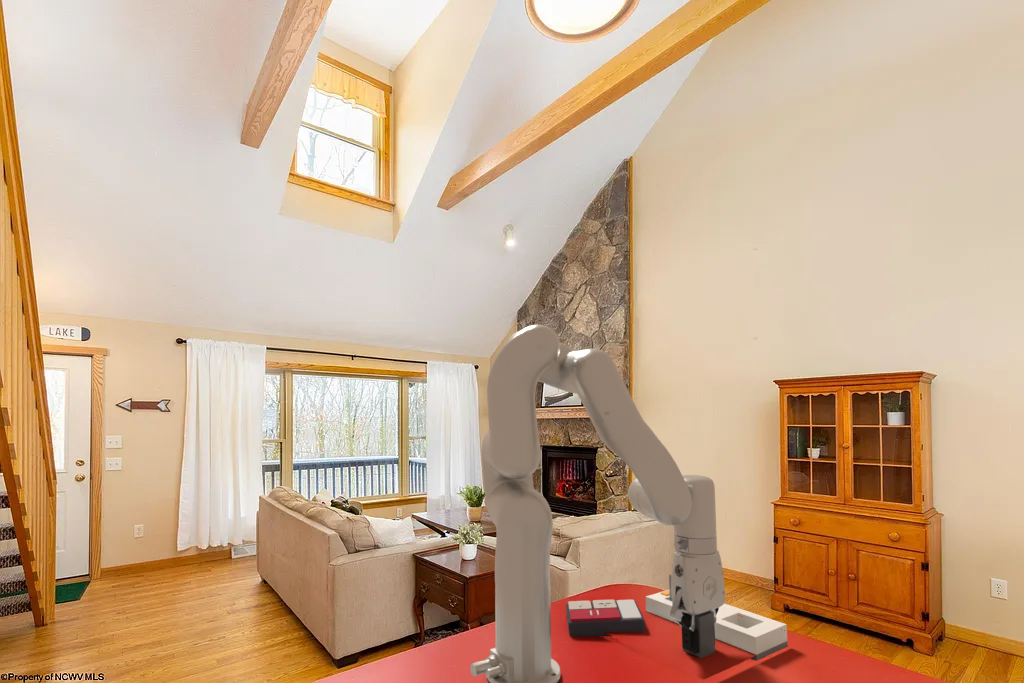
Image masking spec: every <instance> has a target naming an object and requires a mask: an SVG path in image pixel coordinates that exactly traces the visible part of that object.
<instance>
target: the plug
mask: <svg viewBox="0 0 1024 683" xmlns="http://www.w3.org/2000/svg"><path fill="white" fill-rule="evenodd" d="M686 617H687V618H688V619H689V620H690V615H689V614H686ZM695 629H696V630H698V645H699V652H698V653H697V654H695V653H692V652H690V651H688V650H685V649H684V648H683V647H682V651H683V652H686V653H687V654H691V655H692V656H696V657H697V658H700V659H703V658H706V657H707V656H710V655H712V654H714V653H716V639H715V633H714V612H712V611H708V612H705V613H702V614H699V615H697V617H696V628H695Z"/></svg>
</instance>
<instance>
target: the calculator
mask: <svg viewBox="0 0 1024 683" xmlns="http://www.w3.org/2000/svg"><path fill="white" fill-rule="evenodd" d="M565 610H566V620H567V627H568V635H570V636H569V637H571V636H609V637H612V635H611V634H608V633H607V632H609V633H610V632H612V633H613V632H614V633H615V632H617V633H645V632H646V625H645V624H646V623H645V618H644V616H643V614H642V611H641V609H640V608H639V605H638V603H637V600H634V599H618V600H615V599H594V600H592V601H591V600H576V601H575V600H572V601H569V600H568V602H567V603H566V604H565Z"/></svg>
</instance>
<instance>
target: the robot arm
mask: <svg viewBox="0 0 1024 683" xmlns="http://www.w3.org/2000/svg"><path fill="white" fill-rule="evenodd" d="M488 374H489V375H488V378H487V384H486V385H487V386H486V402H487V416H488V417H487V418H488V431H487V432H486V433H485V435H484V438H482V443H481V465H482V473H483V475H482V476H483V484H484V486H483V487H484V496H485V504H486V509H487V512H488V516H489V519H490V520H491V522H492V523H493V524H494V526H495V529H496V540H495V541H496V543H495V551H494V552H495V555H494V556H495V557H494V583H495V584H494V585H495V588H494V594H495V595H494V598H495V600H494V603H495V605H494V609H495V614H494V616H495V620H494V621H495V623H494V625H495V628H494V629H495V647H493V648H490V649H489V656H487V657H486V658H485V659H484V660H479V661H475V662H473V663H471V664H470V668H469V669H470V674H471V675H472V676H473V677H477V676H480V675H483V674H485V677H486V678H487V680H488V682H489V683H558V682H559V681H560V679H561V667H560V665H559V663H558V662H557V661H556V660H555V659H553V658H552V636H551V635H552V632H551V631H552V630H551V629H552V623H551V620H552V619H551V618H552V617H551V616H552V615H551V614H552V613H551V545H552V537H553V524H554V523H553V514H552V509H551V507H550V504H549V503H548V501H547V499H546V498H545V497H544V495H543V494H542V493H540V492H539V491H538V490H536V489H535V488H534V480H533V479H534V477H533V474H534V473H535V472H536V471H537V469H538V467H539V466H540V463H541V456H542V452H541V442H540V436H539V428H538V418H537V409H536V407H537V406H536V390H537V385H538V382H539V383H542V384H545V385H547V386H550V387H552V388H555V389H559V390H562V391H564V392H568V393H570V394H576V395H577V396H578V398H579V399H580V402H581V404H582V405H583V408H584V409H585V412H586V413H587V415H588V417H589V419H590V421H591V424H592V425H593V428H594V429H595V431H596V433H597V436H598V437H599V439H600V440H601V441H602V442H603V444H604V445H605V447H607V448H608V449H609V450H610V451H612V453H614V454H615V455H616V456H618V458H620V459H621V461H623V463H624V464H626V466H627V467H628V468H629V469H630V471H631V472H632V473H633V475H634V477H635V479H633V480H632V481H631V482H630V484H629V486H628V490H627V498H628V502H629V503H630V505H631V507H633V508H634V510H635V511H637V512H638V513H640V514H642V515H643V516H646V517H647V518H650V519H652V520H654V521H656V522H658V523H661V524H662V525H667V526H673V542H674V544H673V546H674V552H673V557H672V567H671V574H672V578H671V595H672V604H673V605H672V608H671V611H670V616H671V617H673V618H674V619H676V620H677V621H678V622H679V624H678V625H679V627H681V645H682V646H681V647H682V649H683V648H684V649H685V650H688V651H690V652H692V653H695V654H697V653H698V652H699V645H698V630H696V629H695V628H696V617H697V615H699V614H702V613H705V612H708V611H712V612H714V623H716V620H717V618H716V614H717V612H718V610H719V607H721V606H722V605H723V604H726V588H725V579H724V578H725V576H724V569H723V564H722V563H723V562H722V558H721V554H720V551H719V550H718V538H717V513H716V512H717V510H716V509H717V508H716V489H715V488H716V487H715V483H714V480H713V479H711V478H710V477H708V476H706V475H697V474H685V475H683V474H682V472H681V471H680V467H679V466H678V464H677V463H676V461H675V459H674V458H673V457H672V455H671V453H670V451H668V449H667V448H666V446H665V444H663V443H662V442H661V440H660V439H659V438H658V436H657V435H656V434H655V433H654V431H653V430H652V429H651V428H650V426H649V425H648V424H647V423H646V421H645V420H644V418H643V417H642V415H641V413H640V411H639V410H638V407H637V406H636V404H635V402H634V400H633V398H632V396H631V394H630V392H629V389H628V388H627V386H626V384H625V382H624V380H623V378H622V376H621V373H620V372H619V370H618V367H617V366H616V364H615V362H614V361H613V358H612V357H611V356H610V355H609V354H608V353H607V352H605V351H604V350H602V349H599V348H585V349H584V348H583V349H581V350H579V349H575V348H571V347H569V346H566V345H563V344H561V342H560V339H559V336H558V334H557V332H556V331H555V330H553V328H551V327H549V326H547V325H544V324H532V325H531V324H530V325H528V326H526V327H523V328H522V329H520V330H518V331H516V332H515V333H513V334H511V336H510V337H509V338H507V340H506V343H505V344H504V345H503V346H502V347H501V349H500V351H499V352H498V354H497V355H496V356H495V359H494V361H493V362H492V365H491V368H490V371H489V373H488ZM686 614H689V615H690V620H689V619H688V618H687V617H686ZM714 633H715V624H714Z"/></svg>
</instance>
